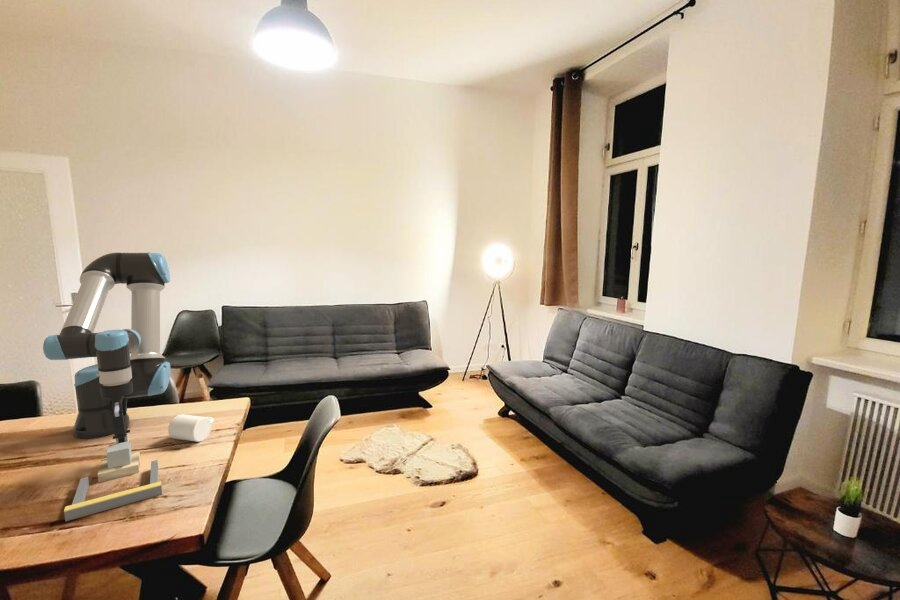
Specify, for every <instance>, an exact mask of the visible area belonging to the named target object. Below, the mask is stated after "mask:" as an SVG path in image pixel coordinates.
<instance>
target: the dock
mask: <svg viewBox="0 0 900 600" xmlns="http://www.w3.org/2000/svg"><path fill="white" fill-rule="evenodd" d="M158 464H159V462H158V459H156V460H152V461H151V462H150V474H149V475H150V478H149V484H144V485H142V486H138V487H134V488H130V489H127V490H123V491H119V492H114V493H112V494H108V495H104V496H99V497H96V498H92V499H89V500H86V498H87V497H86V496H87V493H88V491H89V487H90V480H89V476H85V477H81V478H80V480H79V483H78V486H77V487H76V492H75V495H74V497H73V500H72V503H71V504H70V505H67V506H64V510H63V514H64V520H65V522H70V521H72V520H75V519H80V518H83V517H86V516H89V515H90V516H91V515H93V514H98V513H100V512H105V511H108V510H111V509H115V508H118V507H119V508H120V507H123V506H126V505H129V504H132V503H136V502H140V501H144V500H146V499H147V500H148V499H151V498H154V497H157V496H158V497H159V496H162V495H163V488H162V486H163V485H162V480H160V481H159V465H158Z"/></svg>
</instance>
